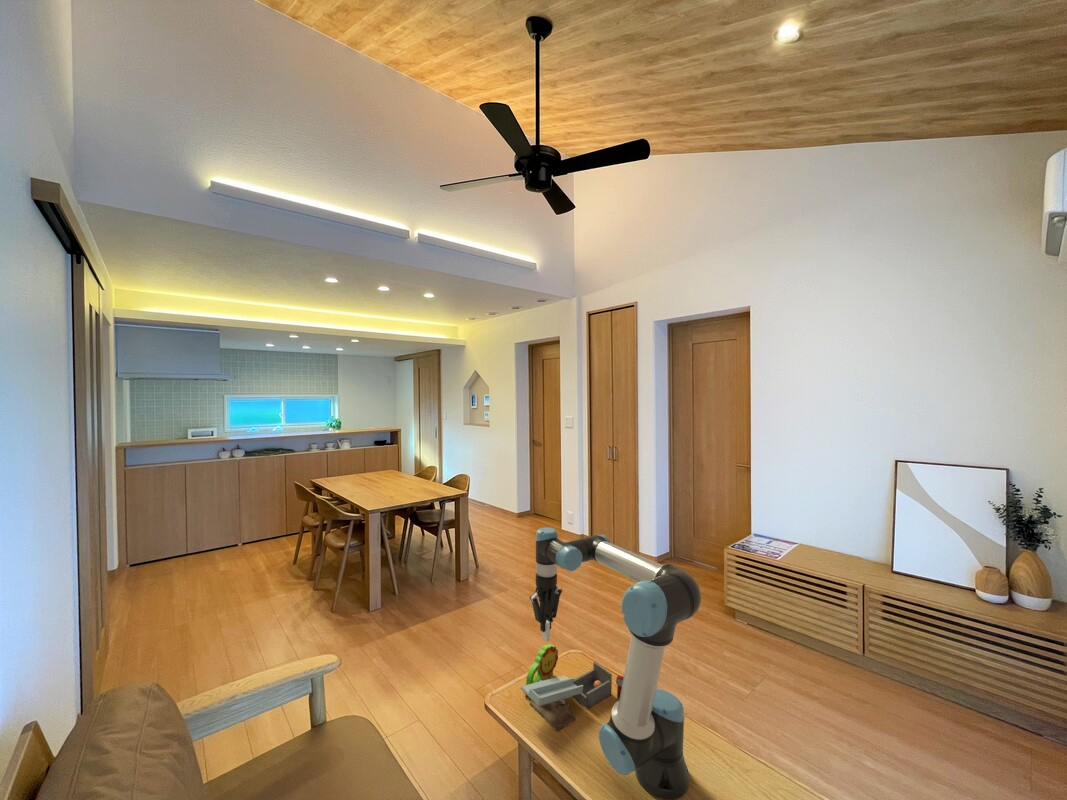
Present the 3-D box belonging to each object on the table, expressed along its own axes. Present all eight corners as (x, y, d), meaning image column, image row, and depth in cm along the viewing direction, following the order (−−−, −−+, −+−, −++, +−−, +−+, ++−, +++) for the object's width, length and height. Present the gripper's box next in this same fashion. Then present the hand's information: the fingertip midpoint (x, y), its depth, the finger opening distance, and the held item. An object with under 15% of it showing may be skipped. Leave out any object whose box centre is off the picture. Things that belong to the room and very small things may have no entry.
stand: (575, 720, 147) (575, 701, 147) (557, 731, 143) (557, 712, 142) (547, 695, 159) (547, 677, 159) (529, 704, 154) (529, 686, 154)
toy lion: (533, 702, 155) (534, 661, 155) (522, 695, 159) (523, 654, 159) (561, 680, 167) (561, 642, 167) (550, 674, 171) (551, 636, 170)
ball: (604, 688, 161) (603, 681, 161) (598, 694, 160) (597, 687, 159) (598, 683, 164) (597, 676, 163) (592, 689, 162) (591, 682, 162)
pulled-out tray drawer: (611, 694, 160) (611, 673, 159) (587, 709, 152) (587, 687, 152) (594, 682, 167) (594, 661, 166) (571, 695, 159) (571, 674, 159)
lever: (584, 697, 151) (586, 688, 152) (541, 711, 139) (542, 701, 140) (560, 677, 162) (561, 668, 162) (517, 688, 150) (519, 679, 150)
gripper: (554, 565, 159) (553, 628, 160) (524, 573, 152) (524, 640, 152) (567, 572, 153) (566, 638, 154) (537, 581, 145) (537, 650, 146)
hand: (545, 639), depth 153 cm, fingers closed
